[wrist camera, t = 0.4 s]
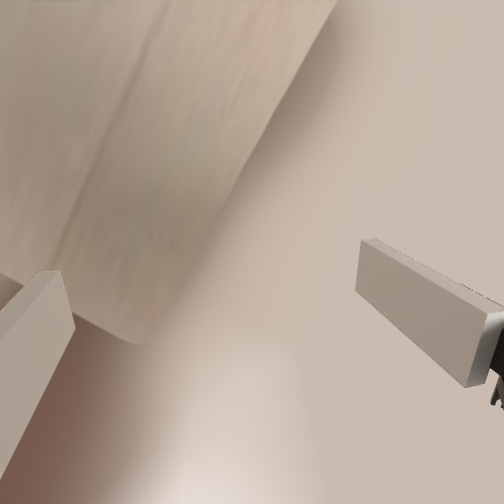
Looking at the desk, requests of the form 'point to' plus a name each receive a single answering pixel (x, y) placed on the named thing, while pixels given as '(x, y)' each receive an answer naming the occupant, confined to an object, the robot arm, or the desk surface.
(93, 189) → the desk surface
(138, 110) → the desk surface
